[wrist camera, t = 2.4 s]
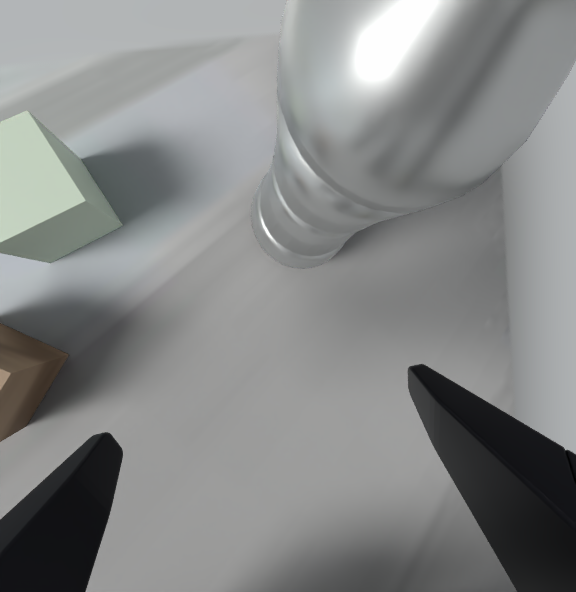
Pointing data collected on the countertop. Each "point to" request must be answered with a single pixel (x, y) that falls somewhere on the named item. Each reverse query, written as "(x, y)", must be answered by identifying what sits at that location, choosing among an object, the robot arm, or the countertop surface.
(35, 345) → the walnut block
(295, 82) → the plastic bottle
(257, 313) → the countertop surface
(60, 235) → the sage block
